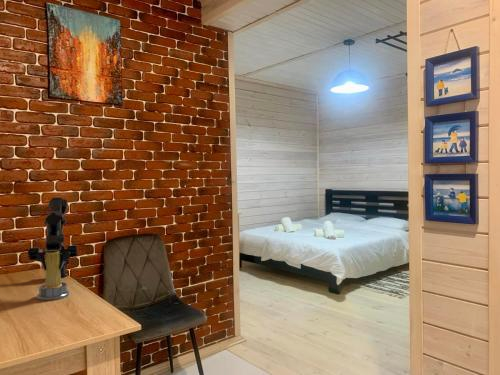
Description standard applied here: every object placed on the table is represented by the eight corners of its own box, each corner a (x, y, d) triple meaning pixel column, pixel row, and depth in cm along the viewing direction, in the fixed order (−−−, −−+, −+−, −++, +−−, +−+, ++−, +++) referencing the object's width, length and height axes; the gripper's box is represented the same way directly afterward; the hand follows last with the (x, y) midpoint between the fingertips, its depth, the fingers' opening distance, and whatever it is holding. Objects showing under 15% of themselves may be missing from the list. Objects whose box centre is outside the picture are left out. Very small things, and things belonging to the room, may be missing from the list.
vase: (41, 286, 159) (40, 252, 158) (54, 282, 165) (54, 249, 164) (51, 288, 156) (50, 253, 156) (64, 284, 162) (63, 250, 161)
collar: (53, 290, 168) (53, 280, 168) (75, 293, 164) (75, 282, 164) (29, 299, 156) (29, 288, 156) (53, 302, 153) (52, 290, 153)
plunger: (53, 284, 164) (53, 282, 164) (65, 285, 162) (65, 284, 162) (40, 288, 158) (40, 287, 158) (53, 289, 156) (53, 288, 156)
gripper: (28, 228, 159) (24, 260, 150) (77, 226, 167) (76, 256, 157) (30, 244, 167) (27, 275, 157) (77, 241, 174) (77, 271, 165)
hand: (52, 269), depth 159 cm, fingers closed on vase, 5 cm apart
